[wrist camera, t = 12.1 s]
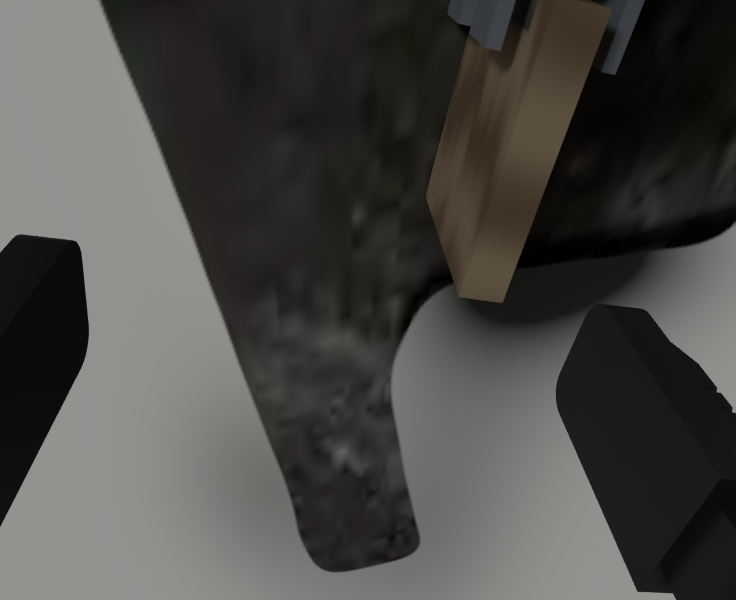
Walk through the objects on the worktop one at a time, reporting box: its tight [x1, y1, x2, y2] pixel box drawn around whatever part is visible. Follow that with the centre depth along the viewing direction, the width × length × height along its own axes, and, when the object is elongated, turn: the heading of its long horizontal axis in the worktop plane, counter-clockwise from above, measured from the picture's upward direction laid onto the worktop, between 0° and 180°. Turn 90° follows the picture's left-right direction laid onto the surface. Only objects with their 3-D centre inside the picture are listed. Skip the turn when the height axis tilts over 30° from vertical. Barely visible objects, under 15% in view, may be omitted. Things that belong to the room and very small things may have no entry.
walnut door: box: [426, 0, 612, 303], centre depth 28 cm, size 12×3×11 cm, turn 169°
